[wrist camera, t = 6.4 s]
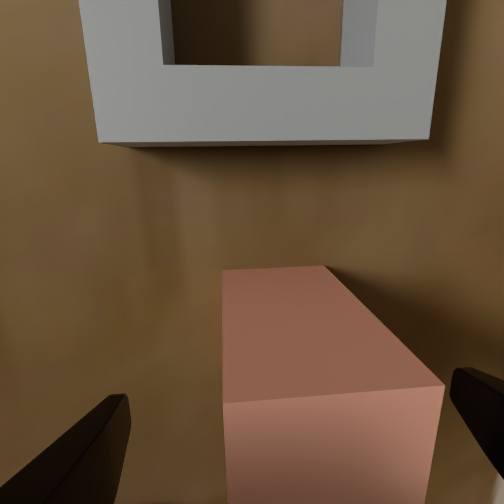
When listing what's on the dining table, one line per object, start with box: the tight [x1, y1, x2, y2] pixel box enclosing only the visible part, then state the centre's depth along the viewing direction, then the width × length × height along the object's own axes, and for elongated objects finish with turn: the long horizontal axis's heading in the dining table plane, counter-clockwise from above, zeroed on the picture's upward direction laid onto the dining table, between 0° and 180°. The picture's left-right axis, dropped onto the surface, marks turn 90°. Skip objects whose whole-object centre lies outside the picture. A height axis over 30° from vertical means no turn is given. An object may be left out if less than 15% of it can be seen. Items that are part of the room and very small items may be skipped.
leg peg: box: [222, 265, 445, 504], centre depth 9 cm, size 4×4×7 cm
